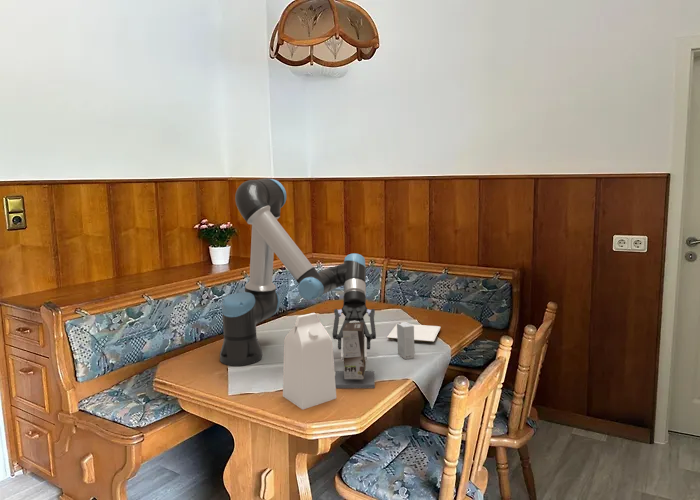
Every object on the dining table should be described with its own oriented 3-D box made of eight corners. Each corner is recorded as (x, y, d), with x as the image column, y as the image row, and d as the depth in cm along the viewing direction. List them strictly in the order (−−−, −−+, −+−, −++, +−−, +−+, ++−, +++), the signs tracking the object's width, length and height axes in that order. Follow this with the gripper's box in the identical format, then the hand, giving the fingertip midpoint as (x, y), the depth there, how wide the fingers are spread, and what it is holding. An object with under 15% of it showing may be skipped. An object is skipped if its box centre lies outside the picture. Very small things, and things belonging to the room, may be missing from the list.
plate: (386, 341, 216) (386, 336, 215) (397, 327, 233) (396, 322, 233) (433, 345, 210) (433, 340, 210) (440, 330, 228) (440, 326, 227)
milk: (315, 386, 174) (313, 307, 170) (336, 398, 165) (334, 315, 161) (282, 396, 167) (279, 314, 163) (302, 409, 158) (299, 323, 154)
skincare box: (415, 358, 197) (415, 325, 195) (403, 359, 196) (403, 327, 193) (407, 352, 203) (407, 321, 201) (396, 354, 201) (396, 322, 199)
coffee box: (364, 379, 172) (362, 330, 169) (343, 379, 173) (341, 330, 170) (366, 368, 181) (364, 321, 178) (347, 368, 182) (345, 321, 179)
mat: (335, 374, 183) (335, 371, 183) (374, 374, 183) (374, 371, 183) (333, 388, 173) (333, 384, 172) (374, 388, 172) (374, 384, 172)
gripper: (383, 300, 188) (385, 363, 175) (326, 300, 189) (324, 363, 176) (383, 289, 182) (385, 353, 169) (325, 289, 183) (322, 353, 169)
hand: (354, 358), depth 172 cm, fingers closed on coffee box, 7 cm apart
